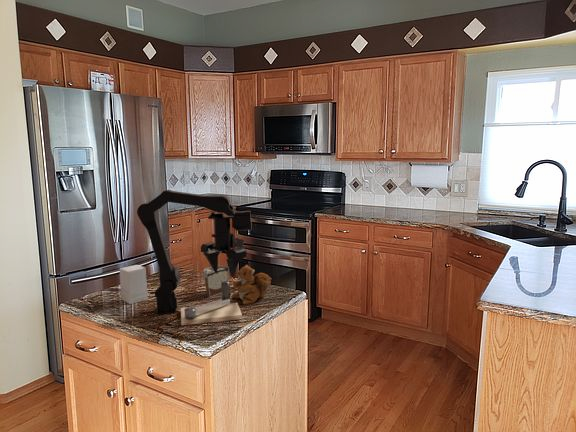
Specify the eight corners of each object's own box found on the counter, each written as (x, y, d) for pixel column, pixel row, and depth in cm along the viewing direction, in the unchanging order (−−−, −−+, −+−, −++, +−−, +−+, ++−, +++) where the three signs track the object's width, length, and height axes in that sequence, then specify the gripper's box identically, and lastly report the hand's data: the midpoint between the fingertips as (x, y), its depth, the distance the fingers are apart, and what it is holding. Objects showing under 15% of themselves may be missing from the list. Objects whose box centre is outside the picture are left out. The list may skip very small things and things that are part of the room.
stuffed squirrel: (230, 297, 172) (229, 264, 170) (263, 291, 178) (263, 259, 176) (239, 305, 163) (238, 271, 161) (274, 299, 170) (273, 266, 167)
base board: (181, 325, 146) (181, 320, 146) (180, 312, 158) (180, 307, 157) (242, 319, 151) (242, 314, 151) (237, 306, 162) (237, 302, 162)
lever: (189, 319, 146) (187, 296, 145) (182, 317, 148) (181, 293, 147) (232, 304, 160) (231, 282, 159) (226, 301, 162) (225, 280, 161)
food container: (220, 287, 185) (219, 263, 183) (230, 290, 181) (229, 266, 179) (196, 295, 175) (195, 270, 174) (206, 298, 171) (205, 273, 170)
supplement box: (148, 299, 171) (146, 267, 169) (129, 304, 166) (127, 271, 164) (139, 295, 176) (137, 264, 174) (121, 299, 171) (118, 268, 169)
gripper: (257, 230, 156) (258, 273, 158) (223, 224, 168) (224, 264, 170) (233, 235, 147) (234, 281, 150) (198, 229, 160) (200, 271, 162)
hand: (224, 274), depth 158 cm, fingers open, 9 cm apart
